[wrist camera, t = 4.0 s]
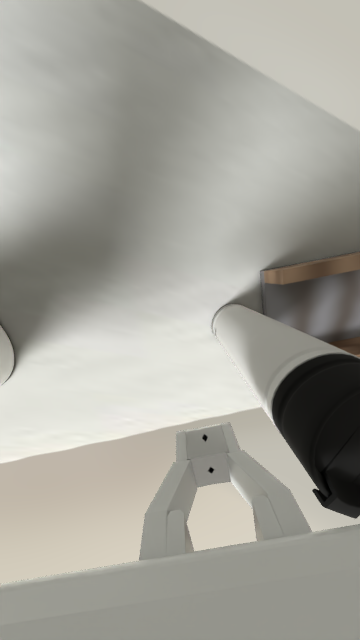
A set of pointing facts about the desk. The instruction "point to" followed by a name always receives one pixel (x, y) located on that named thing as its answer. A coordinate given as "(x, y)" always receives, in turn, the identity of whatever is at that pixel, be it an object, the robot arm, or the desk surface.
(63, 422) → the desk surface
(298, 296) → the u rest
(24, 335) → the desk surface
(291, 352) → the travel mug
